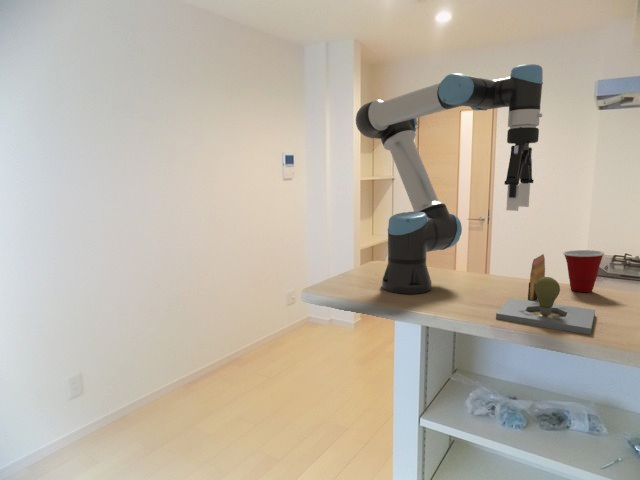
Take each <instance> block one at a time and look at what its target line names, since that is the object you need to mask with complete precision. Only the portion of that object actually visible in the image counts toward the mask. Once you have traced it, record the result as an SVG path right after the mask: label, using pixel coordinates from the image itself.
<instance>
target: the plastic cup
mask: <svg viewBox="0 0 640 480" xmlns="http://www.w3.org/2000/svg"><path fill="white" fill-rule="evenodd" d="M562 254H563V255H564V258H565V260H566V266H567V271H568V272H567V273H568V279H569V286H570V290H572V291H575V292H581V293H591V292H593V290H594V287H595V283H596V281H597V278H598V277H597V276H598V273H599V269H600V266H601V262H602V259H603V256H604V255H605V252H604V251H600V250H590V249H589V250H588V249H585V250H581V249H580V250H567V251H563V252H562Z"/></svg>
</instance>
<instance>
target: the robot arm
mask: <svg viewBox="0 0 640 480" xmlns="http://www.w3.org/2000/svg"><path fill="white" fill-rule="evenodd" d="M543 74H544V73H543V67H542V66H541V65H539V64H535V63H534V64H529V63H528V64H521V65H517V66H514V67H512V69H511V71H510V75H509V76H508V77H505V78H498V79H489V78H482V77H476V76H472V75H467V74H465V73H450V74H447V75H445V76H444V78H443V79H441V81H440V82H438V83H435V84H432V85H429V86H426V87H423V88H420V89H417V90H412V91H411V92H408V93H405V94H401V95H398V96H396V97H393V98H390V99H387V100H381V99H376V100H373V101H370V102H367V103H365V104H363V105H362V106H361V107H360V108H359V109H358V110H357V113H356V116H355V124H356V127H357V130H358V131H359V133H361V134H362V135H363V136H364V137H366V138H369V139H378V140H380V141H381V143H382V146H383V148H384V149H385V150H387V151H390V155H391V156H392V158H393V161H394V164H395V166H396V170H397V171H398V174H399V176H400V179H401V181H402V184H403V187H404V189H405V191H406V194H407V198H408V199H409V202H410V204H411V207H412V209H413V211H408V212H405V211H404V212H399V213H396V214H394V215H391V217H390V218H389V219H388V225H387V226H388V228H387V264H386V268H385V270H384V273H383V274H384V275H383V276H382V282H381V284H382V285H381V287H382V289H383V290H385V291H387V292H390V293H394V294H395V293H396V294H403V295H405V294H406V295H410V294H411V295H412V294H424V293H427V292H429V291H431V290H432V279H431V275H430V273H429V270H428V266H427V253H429V252H433V251H444V250H446V249H449V248H452V247H454V246H455V245H456V244H457V243H458V242H459V240H460V238H461V235H462V231H463V228H462V223H461V220H460V218H459V216H457V215H456V214H453V212H449V209H448V207H447V206H446V204H445V203H444V202H441V201H439V199H438V197H437V194H436V191H435V189H434V187H433V184H432V182H431V179H430V177H429V174H428V172H427V170H426V168H425V164H424V162H423V160H422V157H421V156H420V153H419V151H418V148H417V146H416V144H415V141H414V140H415V138H416V132H417V126H416V125H418V120H417V118H421V117H425V116H428V115H432V114H435V113H439V112H443V111H446V110H451V109H455V108H459V107H468V108H471V110H473V111H488V110H492V109H499V108H500V109H501V108H508V118H507V127H508V128H509V129H508V130H507V135H506V137H507V138H506V143H507V144H512V145H511V147H510V155H509V163H508V168H507V173H506V178H505V181H504V185H506V186H507V192H506V193H507V194H506V195H507V196H506V209H505V210H506V211H515V212H518V211H519V207H521V208H522V207H524V208H525V207H526V208H529V207H530V193H531V192H530V190H531V184H534V179H533V170H532V169H533V168H532V167H533V165H532V164H533V161H532V151H533V148H532V147H531V146H530V144H536V143H538V142H539V135H540V129H539V127H538V126H539V125H540V118H542V117H543V113H541V103H542V102H541V100H542V91H543V90H542V89H543V85H544V82H543V77H544V76H543Z"/></svg>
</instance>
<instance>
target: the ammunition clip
mask: <svg viewBox="0 0 640 480" xmlns="http://www.w3.org/2000/svg"><path fill="white" fill-rule="evenodd" d="M545 264H546V259H545V255H544V253H542V254H540V255H539V256H537V257H535V258H534V259H533V260H532V263H531V269H530V277H529V282H528V293H527V300H529V301H536V302H537V300H538V297H537V295H536V293H535V284H536V282H537V281H538V280H539V279H541V278H543V277H546V265H545Z"/></svg>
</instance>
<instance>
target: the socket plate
mask: <svg viewBox="0 0 640 480" xmlns="http://www.w3.org/2000/svg"><path fill="white" fill-rule="evenodd" d="M595 317H596V309H592V308H586V307H578V306H572V305H571V306H570V305H564V304H555V303H553V306H552V307H551V314H550V315H549V316H547V317H544V316H543V315H542V314H541V313H540V304H539V301H537V300H536V301H531V300H528V299H521V298H513V297H510V298H508V300H507V301H506V302H505V303H504V304H503V305H502V306H501V308H499V310H498V311H497V312H496V313H495V319H498V320H503V321H508V322H515V323H519V324H526V325H530V326H536V327H541V328H548V329H553V330H559V331H565V332H571V333H577V334H583V335H589V336H591V334H592V330H593V329H592V328H593V325H594V320H595Z"/></svg>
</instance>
